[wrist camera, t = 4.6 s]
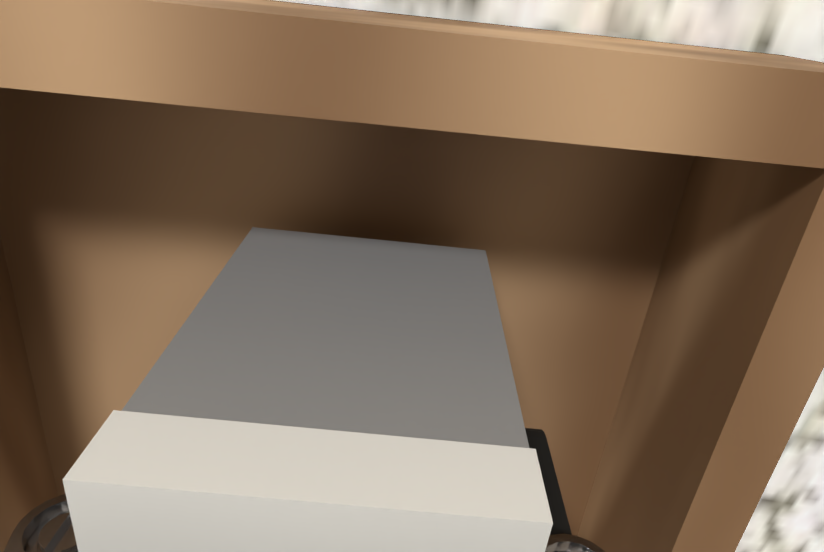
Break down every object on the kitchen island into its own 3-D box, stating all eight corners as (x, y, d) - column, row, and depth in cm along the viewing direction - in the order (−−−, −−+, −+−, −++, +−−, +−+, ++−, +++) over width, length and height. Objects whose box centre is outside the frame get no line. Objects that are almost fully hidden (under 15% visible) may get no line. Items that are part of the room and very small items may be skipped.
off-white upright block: (488, 248, 11) (552, 523, 6) (443, 511, 15) (455, 863, 9) (250, 224, 11) (62, 479, 5) (256, 494, 14) (141, 839, 9)
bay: (782, 54, 11) (958, 87, 8) (603, 567, 17) (654, 718, 14) (-118, -42, 10) (-395, -57, 7) (30, 529, 17) (-76, 679, 13)
